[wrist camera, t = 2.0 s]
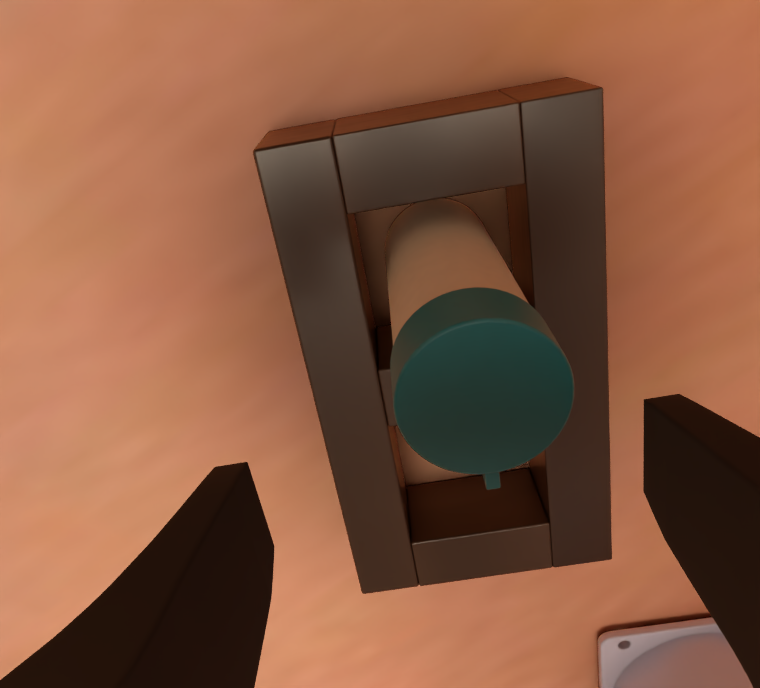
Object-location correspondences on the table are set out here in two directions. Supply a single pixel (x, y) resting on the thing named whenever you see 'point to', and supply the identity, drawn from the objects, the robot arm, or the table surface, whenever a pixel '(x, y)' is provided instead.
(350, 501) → the block
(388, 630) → the table surface
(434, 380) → the marker
